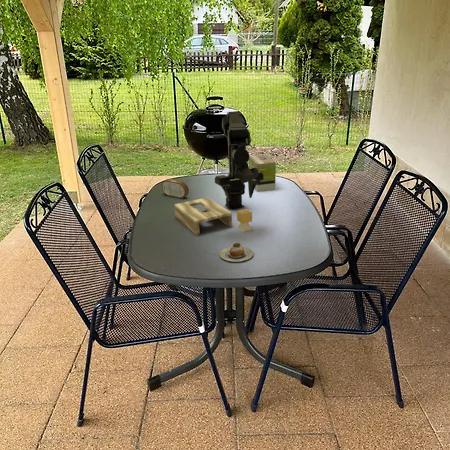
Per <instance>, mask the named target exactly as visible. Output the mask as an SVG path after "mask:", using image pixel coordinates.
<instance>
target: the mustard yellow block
mask: <svg viewBox="0 0 450 450" xmlns="http://www.w3.org/2000/svg"><path fill="white" fill-rule="evenodd" d="M236 221H237V222H239V223H240V224H239V223H238V224H237V225H236V228H237V229H238V230H239V231H240V232H242V233H244V232H248V231H251V230H252V231H253V225H251V224H250V223H252V222H253V212H252V211H250V210H249V209H247V208H245V209H240V210H236Z"/></svg>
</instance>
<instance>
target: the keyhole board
mask: <svg viewBox="0 0 450 450" xmlns="http://www.w3.org/2000/svg"><path fill="white" fill-rule="evenodd" d="M198 205H201V206H203V210H205V212H203V211H202V210H201V209H199V208H198V207H195V208H194V206H198ZM174 214H175V218H176V219H177V220H178V221H179V222H181V224H183V225H184V226H185V227H187V228H188V229H189V230H190V231H192V233H193V234H195V235H196V236H198V235H200V223H205V222H208V221H212V220H217V219H218V220H219V221H221V222H222V223H224V224H225V225H226V226H228V227H229V228H231V227H233V215H232V214H233V213H232V211H230V210H228V209H227V208H225V207H224V206H222V205H221V204H218V202H215V201H214V200H213V199H211V198H210V197H202V198H199V199H194V200H193V199H192V200H189V201H184V202H178V203H175V204H174Z"/></svg>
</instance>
